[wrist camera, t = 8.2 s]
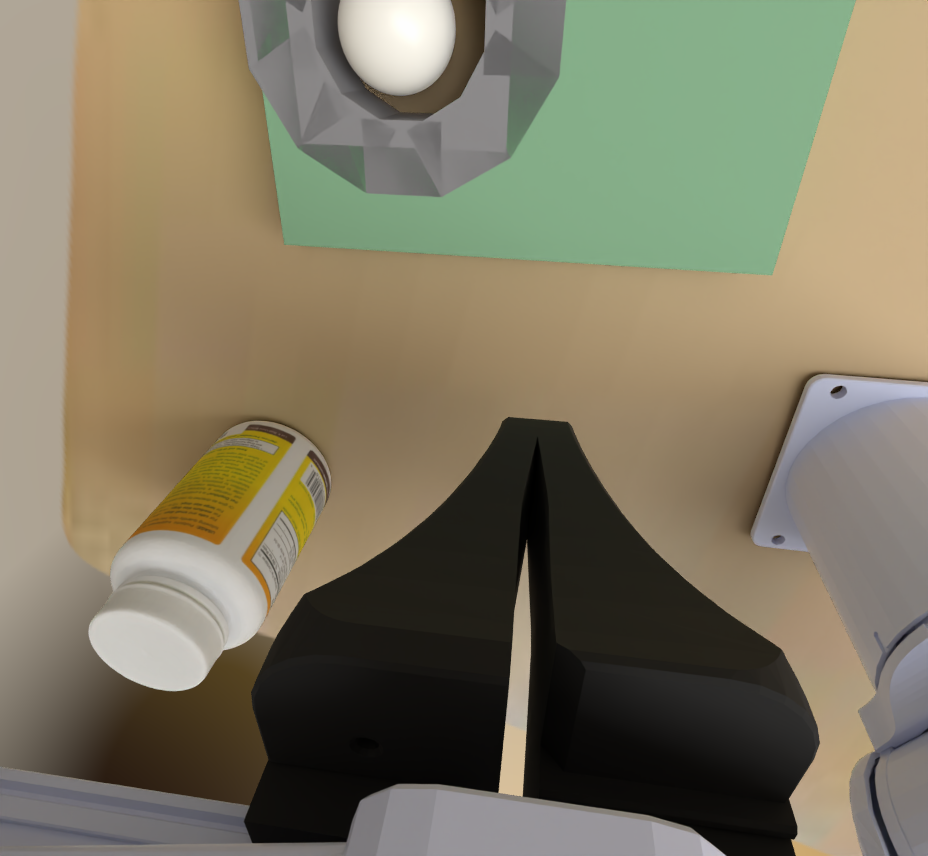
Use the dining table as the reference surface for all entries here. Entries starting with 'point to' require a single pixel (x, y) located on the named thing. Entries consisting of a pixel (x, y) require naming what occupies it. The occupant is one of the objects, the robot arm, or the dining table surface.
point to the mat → (558, 133)
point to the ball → (397, 42)
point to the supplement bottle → (211, 556)
